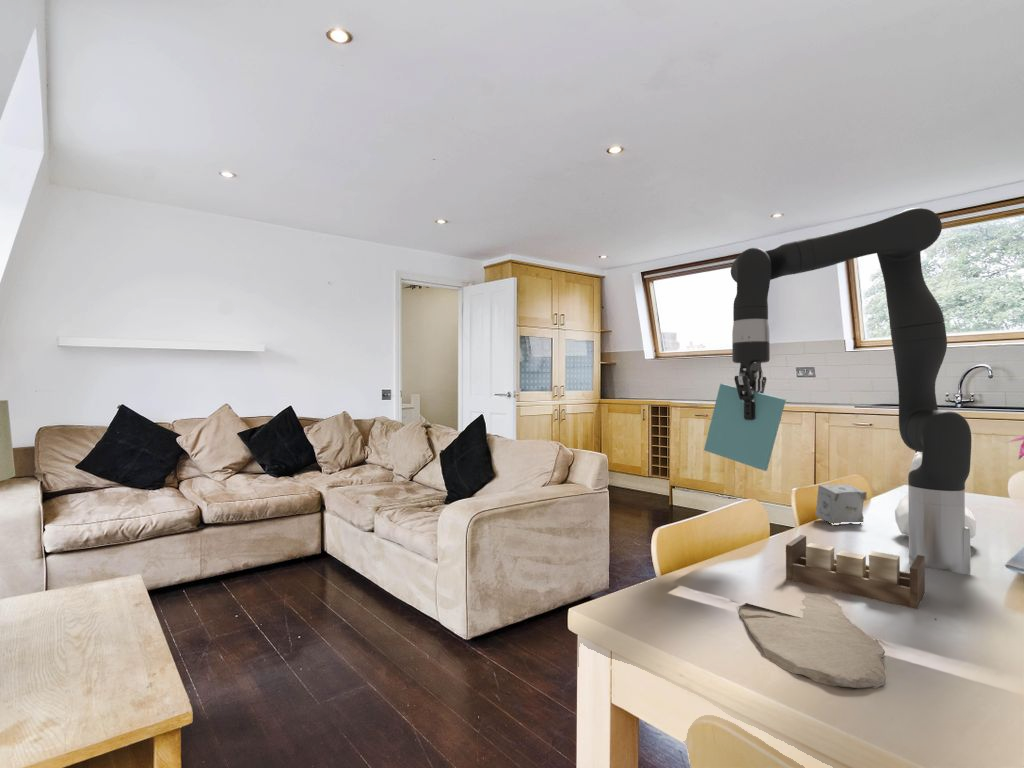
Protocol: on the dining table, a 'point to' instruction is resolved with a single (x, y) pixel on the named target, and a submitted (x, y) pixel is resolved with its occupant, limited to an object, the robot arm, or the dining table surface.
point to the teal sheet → (744, 428)
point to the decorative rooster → (903, 507)
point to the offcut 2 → (884, 567)
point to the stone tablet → (818, 643)
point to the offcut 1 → (820, 556)
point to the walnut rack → (857, 579)
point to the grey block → (840, 503)
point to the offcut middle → (851, 564)
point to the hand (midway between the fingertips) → (751, 419)
